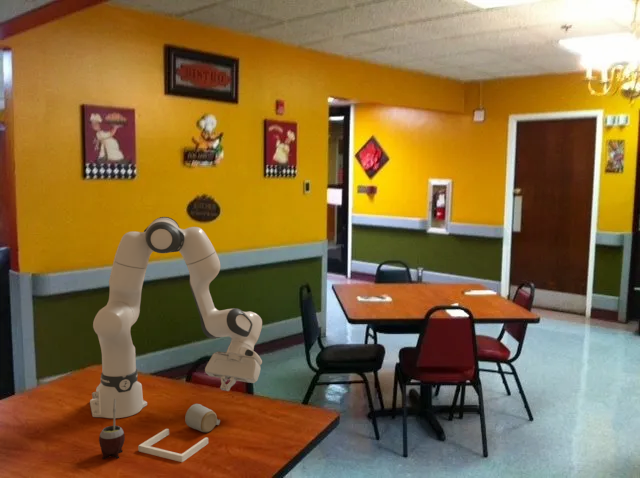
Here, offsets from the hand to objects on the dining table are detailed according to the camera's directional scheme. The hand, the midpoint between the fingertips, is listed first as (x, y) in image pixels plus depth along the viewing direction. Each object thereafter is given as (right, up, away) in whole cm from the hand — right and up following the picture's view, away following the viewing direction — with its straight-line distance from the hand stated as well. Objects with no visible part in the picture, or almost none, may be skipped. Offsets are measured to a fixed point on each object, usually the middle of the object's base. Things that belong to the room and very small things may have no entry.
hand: (224, 389), depth 200 cm
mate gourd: (-28, -12, -29) cm, 42 cm away
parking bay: (-11, -11, -24) cm, 28 cm away
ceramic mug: (-5, -10, -10) cm, 15 cm away
